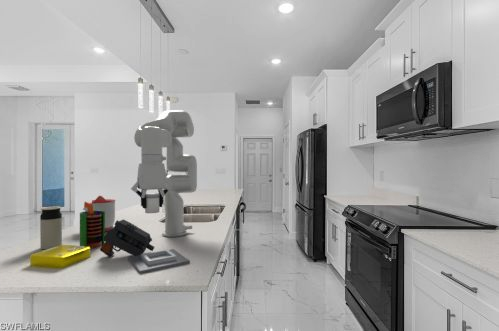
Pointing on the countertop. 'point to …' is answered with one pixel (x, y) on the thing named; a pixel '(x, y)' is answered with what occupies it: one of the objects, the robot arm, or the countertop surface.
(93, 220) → the motor
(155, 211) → the white domed cylinder
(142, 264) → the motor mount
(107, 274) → the countertop surface
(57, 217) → the travel mug
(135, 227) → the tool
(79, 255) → the element tile
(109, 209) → the citrus juicer
